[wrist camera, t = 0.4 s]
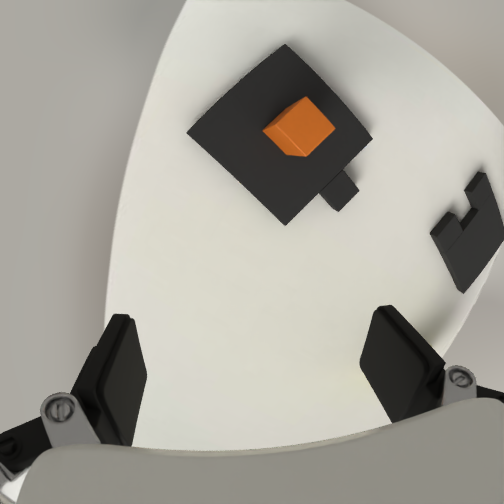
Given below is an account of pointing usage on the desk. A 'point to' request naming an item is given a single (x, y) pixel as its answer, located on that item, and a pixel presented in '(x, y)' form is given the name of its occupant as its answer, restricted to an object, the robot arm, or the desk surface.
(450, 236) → the notched pad
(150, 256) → the desk surface
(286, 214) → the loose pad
